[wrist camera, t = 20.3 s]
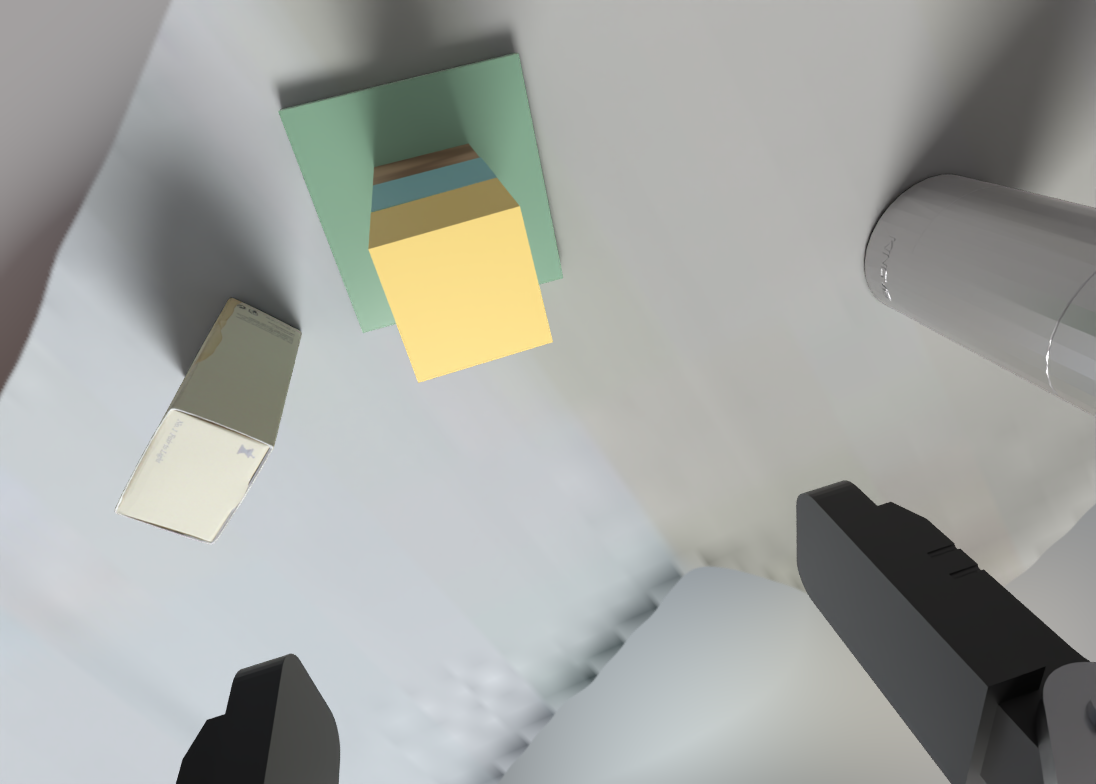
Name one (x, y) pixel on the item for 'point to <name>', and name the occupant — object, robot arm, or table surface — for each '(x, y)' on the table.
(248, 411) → the skincare box
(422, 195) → the teal brick
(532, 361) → the table surface
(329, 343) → the table surface
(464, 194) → the mustard brick
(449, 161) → the walnut brick
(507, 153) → the plate
